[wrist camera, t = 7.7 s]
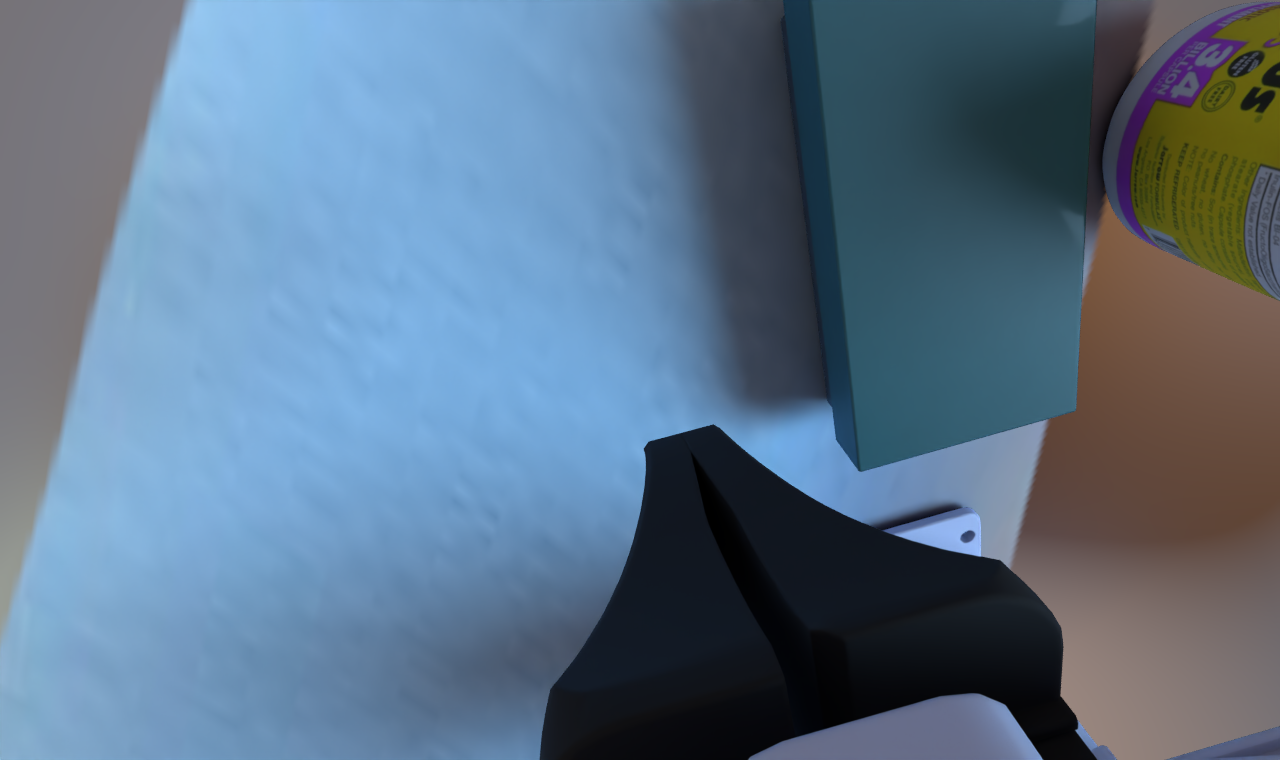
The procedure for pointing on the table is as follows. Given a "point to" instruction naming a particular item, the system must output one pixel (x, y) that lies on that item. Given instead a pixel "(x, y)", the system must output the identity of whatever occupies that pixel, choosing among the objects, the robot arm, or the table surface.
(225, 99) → the table surface
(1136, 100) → the supplement bottle
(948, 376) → the teal flat panel
